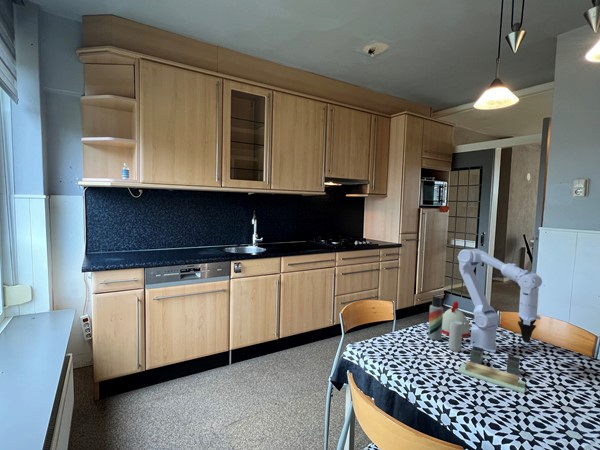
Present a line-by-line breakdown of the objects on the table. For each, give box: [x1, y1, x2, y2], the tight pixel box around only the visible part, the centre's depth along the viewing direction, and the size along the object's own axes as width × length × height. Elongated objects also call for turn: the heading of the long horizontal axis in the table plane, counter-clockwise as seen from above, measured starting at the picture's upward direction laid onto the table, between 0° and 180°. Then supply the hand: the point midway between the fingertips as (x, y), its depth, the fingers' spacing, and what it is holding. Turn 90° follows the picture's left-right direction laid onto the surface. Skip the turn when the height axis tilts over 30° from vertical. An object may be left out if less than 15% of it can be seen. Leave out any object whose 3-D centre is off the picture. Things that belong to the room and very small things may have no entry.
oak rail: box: [465, 360, 520, 387], centre depth 111 cm, size 16×3×2 cm, turn 52°
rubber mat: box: [457, 362, 526, 394], centre depth 111 cm, size 20×8×1 cm, turn 52°
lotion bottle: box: [427, 295, 444, 341], centre depth 144 cm, size 6×6×20 cm
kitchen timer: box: [442, 300, 471, 338], centre depth 152 cm, size 14×14×15 cm
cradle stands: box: [469, 346, 521, 376], centre depth 118 cm, size 16×5×5 cm, turn 52°
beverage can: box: [448, 321, 463, 353], centre depth 132 cm, size 5×5×12 cm
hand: (526, 337), depth 122 cm, fingers open, 7 cm apart
